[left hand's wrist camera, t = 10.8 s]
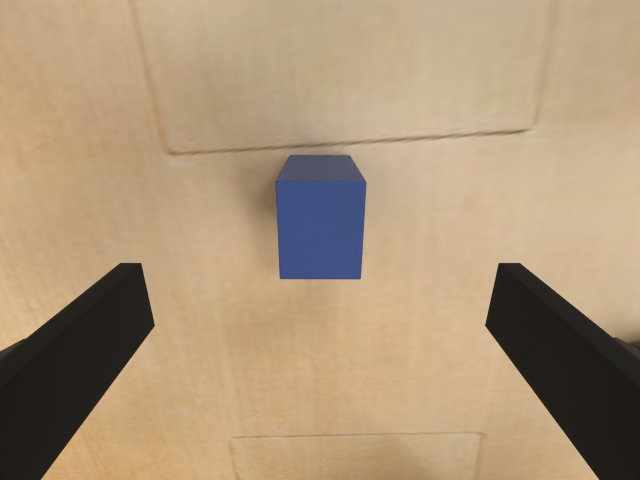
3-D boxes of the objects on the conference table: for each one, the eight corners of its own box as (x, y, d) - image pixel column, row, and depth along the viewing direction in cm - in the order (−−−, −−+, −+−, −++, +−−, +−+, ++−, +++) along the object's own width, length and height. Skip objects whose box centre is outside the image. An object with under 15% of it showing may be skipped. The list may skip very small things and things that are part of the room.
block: (291, 224, 32) (279, 279, 22) (289, 155, 30) (275, 180, 20) (347, 225, 33) (360, 279, 22) (350, 155, 30) (366, 181, 20)
